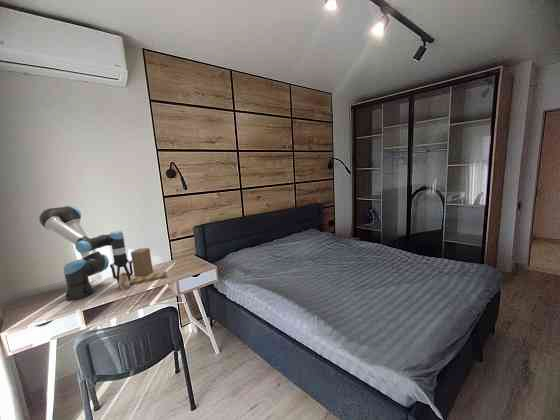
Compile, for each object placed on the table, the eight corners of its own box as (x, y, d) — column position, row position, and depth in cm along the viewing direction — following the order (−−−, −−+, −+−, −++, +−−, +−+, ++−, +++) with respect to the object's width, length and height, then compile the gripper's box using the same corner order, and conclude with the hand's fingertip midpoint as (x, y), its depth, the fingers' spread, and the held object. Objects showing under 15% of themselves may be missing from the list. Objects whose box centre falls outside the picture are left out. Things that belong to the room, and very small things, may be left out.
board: (118, 287, 180) (118, 285, 180) (120, 283, 188) (120, 280, 188) (166, 277, 192) (166, 275, 192) (166, 273, 201) (166, 271, 200)
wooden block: (153, 271, 210) (149, 247, 207) (145, 276, 200) (142, 251, 197) (142, 271, 211) (138, 248, 208) (134, 276, 201) (130, 252, 198)
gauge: (121, 290, 175) (119, 275, 174) (124, 284, 186) (121, 269, 185) (128, 288, 177) (125, 273, 175) (130, 282, 188) (128, 268, 187)
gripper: (103, 257, 168) (109, 291, 171) (133, 252, 175) (138, 285, 178) (106, 254, 175) (111, 287, 178) (134, 250, 182) (139, 281, 185)
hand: (125, 286), depth 178 cm, fingers closed on gauge, 4 cm apart
